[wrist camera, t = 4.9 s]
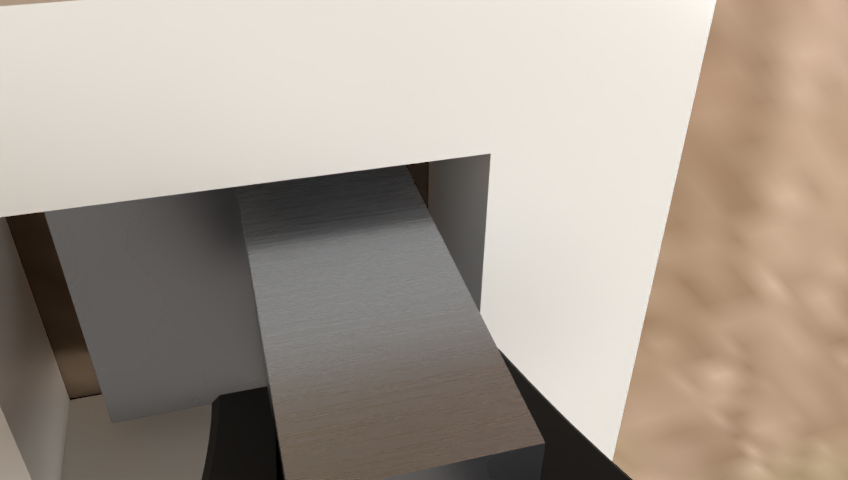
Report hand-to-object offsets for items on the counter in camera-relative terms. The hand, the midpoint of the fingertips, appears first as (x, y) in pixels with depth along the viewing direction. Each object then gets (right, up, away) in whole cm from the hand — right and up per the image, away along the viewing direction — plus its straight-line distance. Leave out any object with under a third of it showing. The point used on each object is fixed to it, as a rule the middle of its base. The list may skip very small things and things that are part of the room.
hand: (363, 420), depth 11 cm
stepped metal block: (-2, +3, +3) cm, 5 cm away
